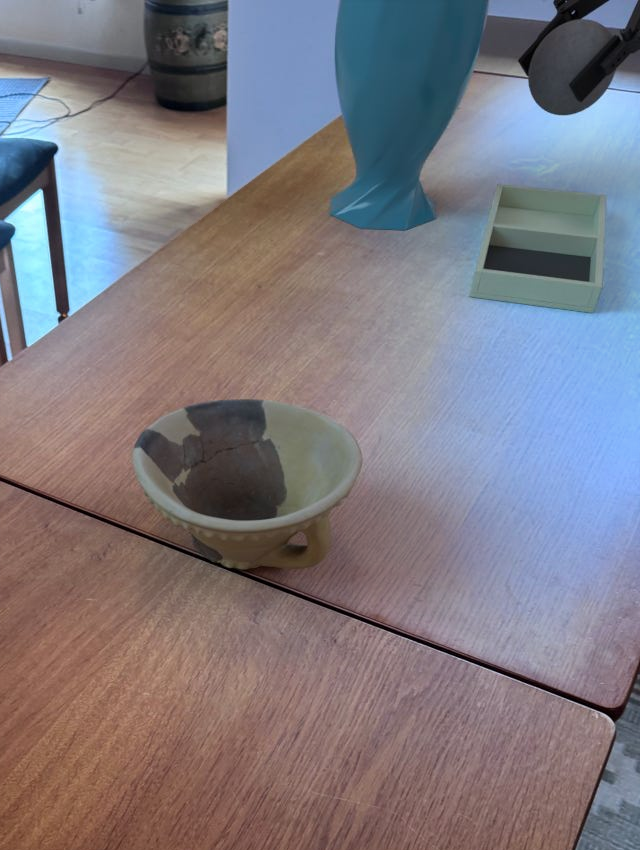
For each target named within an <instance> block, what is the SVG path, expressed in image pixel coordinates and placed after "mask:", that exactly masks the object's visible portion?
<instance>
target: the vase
mask: <svg viewBox="0 0 640 850" xmlns="http://www.w3.org/2000/svg"><path fill="white" fill-rule="evenodd" d="M489 7H490V0H339V1H338V7H337V15H336V21H335V22H336V23H335V30H334V31H335V32H334V34H335V35H334V77H335V84H336V93H337V98H338V103H339V107H340V112H341V117H342V121H343V124H344V125H343V126H344V128H345V132H346V137H347V139H348V143H349V146H350V148H351V153H352V156H353V160H354V164H355V177H354V180H353V181H352V183H351V184H350V185H348V186H347V187H346V188H344V189H342V190H341V191H339V192H338V193H336V194H335V195H333V196H331V197H330V207H329V208H330V209H329V212H328V214H329V215H330V216H332V217H335V218H336V219H339V220H342V221H344V222H345V223H348V224H350V225H352V226H354V227H356V228H358V229H364V230H365V229H368V230H369V229H372V230H395V231H407V230H409V229H411V228H415V227H417V226H420V225H423V224H425V223H428V222H430V221H434V220H437V215H436V206H435V203H436V202H435V201H434V199H432V198H431V197H430V196H429V195H428V194H427V193H425V191H424V188H423V185H422V183H421V180H420V177H421V173H422V170H423V168H424V166H425V163H426V162H427V160H428V159H429V156H430V155H431V153H432V152H433V151H434V150H435V148H436V146H437V145H438V143H439V141H440V140H441V139H442V137H443V136H444V134H445V132H446V131H447V129H448V127H449V126H450V124H451V122H452V120H453V118H454V117H455V115H456V113H457V111H458V109H459V107H460V105H461V103H462V100H463V98H464V97H465V94H466V92H467V90H468V87H469V84H470V82H471V79H472V77H473V74H474V71H475V68H476V65H477V62H478V60H479V55H480V51H481V48H482V44H483V40H484V36H485V32H486V31H485V30H486V26H487V22H488V21H487V20H488V16H489V15H488V14H489Z"/></svg>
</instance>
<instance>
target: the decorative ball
mask: <svg viewBox="0 0 640 850" xmlns="http://www.w3.org/2000/svg"><path fill="white" fill-rule="evenodd" d="M613 36H614V35H612V33H611V32H610V31H609V29H608V28H607V27H606V26H604V25H603V24H602V23H600V22H598V21H595V20H592V19H589V18H588V19H587V18H585V19H584V18H582V19H578V20H573V21H569V22H566V23H564V24H562V25H560V26H558V27H557V28H555V29H554V30H553V31H551V32H550V33H549V34H548V35H547V36H546V37H545V38H544V39H543V40H542V42H541V43H540V44H539V46H538V47H537V49H536V51H535V53H534V55H533V57H532V60H531V63H530V67H529V74H528V76H527V83H528V88H529V92H530V95H531V97H532V99H533V100H534V103H536V104H537V105H538V107H540V109H542V110H544V112H547V113H548V114H551V115H555V116H573V115H576V114H578V113H581V112H583V111H585V110H587V109H589V108H590V107H591V106H593V105H594V104H595V103H597V101H599V99H601V97H602V96H603V95H604V94H605V93H606V92H607V90H608V89H609V87H610V85H611V84H612V81H613V79H614V77H615V75H616V71H617V69H616V70H615V71H614V72H613V73H611V74H610V75H608V76H606V77H605V78H604V79H603V80H602V81H601V82H600V83H599V84H598V85H597V86H596V87H595V88H594V89H593V91H592V92H591V93H590V94H589V95H588V96H587V97H586V98H585V99H584V100H583V101H582V102H579V101H577V99H576V97H575V95H574V94H573V92H572V90H571V88H570V86H569V83H570V82H571V81H572V80H573V79H574V78H575V77H576V76H577V75H578V74H579V73H580V72H581V71H582V70H583V68H584V67H585V66H586V65H587V64H588V63H589V62H590V61H591V60H592V59H593V58H594V57H595V56H596V55H597V53H598V52H599V51H600V50H601V49H602V48H603V47H604V46H605V45H606V44H607V43H608V42H609V41H610V39H611V38H612V37H613Z"/></svg>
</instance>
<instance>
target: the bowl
mask: <svg viewBox="0 0 640 850" xmlns="http://www.w3.org/2000/svg"><path fill="white" fill-rule="evenodd" d="M131 458H132V459H131V460H132V466H133V472H134V475H135V477H136V479H137V481H138V483H139V485H140V488H141V489H142V490H143V494H144V495H145V497H146V498H147V500H148V502H149V504H151V505H154V509H155V511H156V512H157V513H159V514H162V516H163V518H164V519H165V520H167V521H171V522H172V523H173V525H174V526H175V527H182V528H184V530H186V531H188V532H189V533H190V534H191V538H192V545H193V547H194V548H195V549H196V550H197V552H198V553H200V555H202V556H203V557H205V558H206V559H207V560H209V561H211V563H216V564H221V566H223V567H226V568H228V569H233V568H234V569H238V570H250V569H257V568H259V567H268V568H269V567H270V568H271V567H273V568H278V569H285V570H304V569H310V568H313V567H315V566H317V565H318V564H320V563H321V562H322V561H324V560H325V559H326V558H327V555H328V553H329V551H330V548H331V544H332V530H331V522H330V516H329V514H330V513H331V512H332V510H334V509H335V508H336V507H339V506H341V504H342V501H343V500H344V499H346V498H347V497H349V495H350V492H351V490H352V489H353V487H354V486H355V484H356V483H357V482H356V481H357V480H358V477H359V475H360V472H361V469H362V466H363V463H364V461H363V453H362V450H361V447H360V444H359V442H358V440H357V438H356V437H355V435H354V434H353V433H352V432H351V431H350V429H348V428H347V427H345V426H344V425H342V423H339V422H337V421H336V420H334V419H333V418H332V417H329V416H327V415H325V414H323V413H321V412H319V411H316V410H313V409H310V408H307V407H304V406H299V405H295V404H291V403H286V402H283V401H278V400H270V399H269V400H268V399H250V398H240V399H239V398H238V399H237V398H236V399H234V398H233V399H220V400H219V399H218V400H211V401H204V402H199V403H195V404H191V405H187V406H184V407H182V408H180V409H176V410H174V411H171V412H170V413H167V414H165V415H163V416H161V417H160V418H158V419H157V420H155V421H154V422H153V423H152V424H150V425H149V426H148V427H147V428H145V429H144V430H143V431H142V432H141V433H140V434H139V436H138V437H137V439H136V442H135V443H134V447H133V451H132V455H131ZM299 532H301V533H303V534H304V536H305V538H306V541H307V544H306V545H301V544H294V543H291V538H293V537H294V536H295V535H296V534H298V533H299Z"/></svg>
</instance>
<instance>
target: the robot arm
mask: <svg viewBox="0 0 640 850" xmlns="http://www.w3.org/2000/svg"><path fill="white" fill-rule="evenodd" d="M609 1H610V0H553V2H552V4H553V6H554V9H556V14H555V16H554V17H553V18H552V19H551V21H549V23H547V25H546V26H545V27H544V28H543V29H542V31H541V32H540V33H539V34H538V36H537V37H536V39H535V40H534V41H533V42H532V44H531V45H530V46H529V47H528V48H527V49H526V50H525V52H523V54H522V55H521V56H520V57H519V58H518V59H517V62H518V64H519V65H520V67H521V69H522V70H523V72H524V74H525V75H526V77H528V74H529V67H530V63H531V60H532V57H533V55H534V53H535V51H536V49H537V47H538V46H539V44H540V43H541V42H542V40H543V39H544V38H545V37H546V36H547V35H548V34H549V33H550V32H551V31H553V30H554V29H555V28H557V27H558V26H560V25H562V24H564V23H566V22H569V21H573V20H578V19H584V18H585V17H586V16H588V15H590V14H591V13H593V12H594V11H595V10H597V9H599V8H600V7H602V6H603V5H605V4H606V3H608V2H609ZM619 34H620V36H621V38H622V39H621V38H620V36H619V35H616V34H614V35H612V36H613V37H612V38H611V39H610V41H609V42H608V43H607V44H606V45H605V46H604V47H603V48H602V49H601V50H600V51H599V52H598V53H597V55H596V56H595V57H594V58H593V59H592V60H591V61H590V62H589V63H588V64H587V65H586V66H585V67H584V68H583V70H582V71H581V72H580V73H579V74H578V75H577V76H576V77H575V78H574V79H573V80H572V81H571V82H570V83H569V86H570V88H571V90H572V92H573V94H574V95H575V97H576V99H577V101H579V102H582V101H583V100H584V99H585V98H586V97H587V96H588V95H589V94H590V93H591V92H592V91H593V89H594V88H595V87H596V86H597V85H598V84H599V83H600V82H601V81H602V80H603V79H604V78H605V77H606V76H608V75H610V74H611V73H613V72H614V71H615V70H616V71H617V69H618V68H619V67H620V65H621V64H622V63H623V62H624V61H625V60H626V59H627V58H628V57H629V56H630V55H631V54H635V53H637V52H638V51H640V0H637V1H636V4H635V6H634V8H633V10H632V12H631V15H630V17H629V18H628V21H627V24H626V25H625V28H622V29H619ZM616 71H615V72H616Z"/></svg>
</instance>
